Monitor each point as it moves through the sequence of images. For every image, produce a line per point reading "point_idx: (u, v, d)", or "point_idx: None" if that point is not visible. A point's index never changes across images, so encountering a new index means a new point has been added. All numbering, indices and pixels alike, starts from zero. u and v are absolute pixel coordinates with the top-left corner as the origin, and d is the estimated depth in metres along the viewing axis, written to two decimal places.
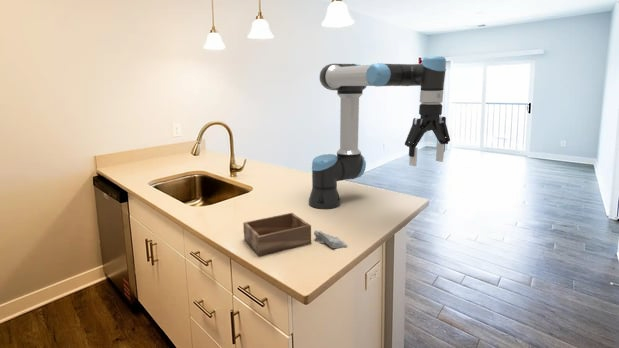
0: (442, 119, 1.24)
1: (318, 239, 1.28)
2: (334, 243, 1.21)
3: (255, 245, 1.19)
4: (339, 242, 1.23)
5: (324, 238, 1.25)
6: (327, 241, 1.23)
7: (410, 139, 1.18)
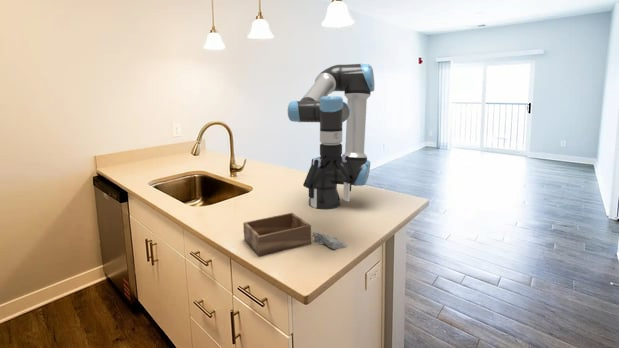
0: (345, 158, 1.20)
1: (317, 240, 1.27)
2: (334, 243, 1.21)
3: (255, 245, 1.19)
4: (339, 242, 1.22)
5: (323, 239, 1.24)
6: (327, 242, 1.22)
7: (307, 181, 1.15)
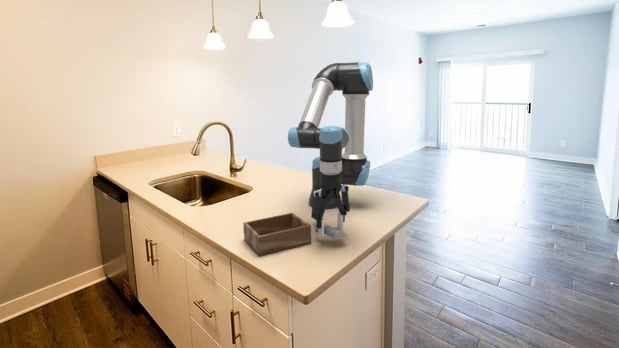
0: (345, 188, 1.23)
1: None
2: (335, 233, 1.21)
3: (255, 245, 1.19)
4: (340, 232, 1.22)
5: (325, 229, 1.24)
6: (328, 232, 1.22)
7: (314, 213, 1.19)
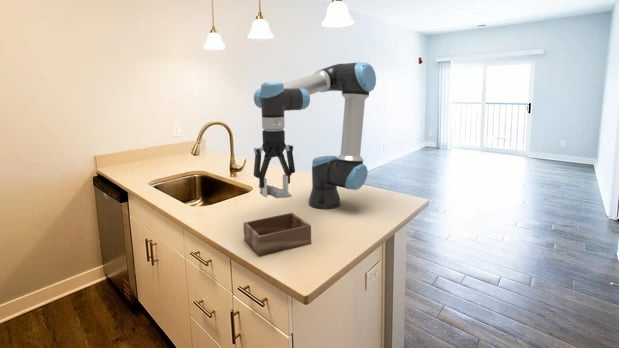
0: (289, 147, 1.21)
1: None
2: (278, 192, 1.18)
3: (255, 245, 1.19)
4: (284, 192, 1.20)
5: (268, 189, 1.21)
6: (271, 191, 1.20)
7: (255, 171, 1.17)
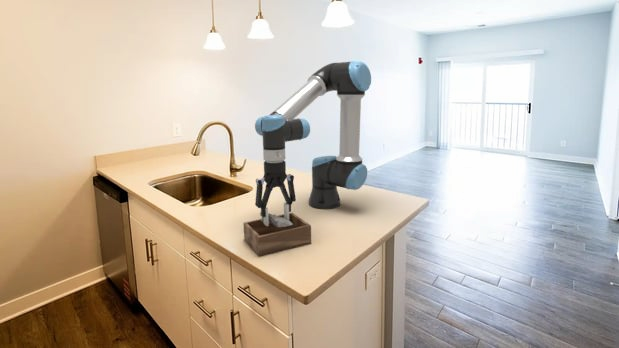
0: (290, 177, 1.24)
1: None
2: (279, 222, 1.21)
3: (255, 245, 1.19)
4: (285, 221, 1.22)
5: (270, 218, 1.24)
6: (273, 221, 1.22)
7: (257, 201, 1.20)
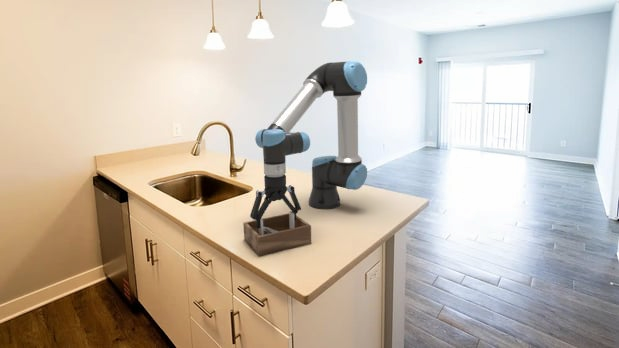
0: (290, 189, 1.25)
1: None
2: None
3: (255, 245, 1.19)
4: None
5: None
6: None
7: (253, 212, 1.20)
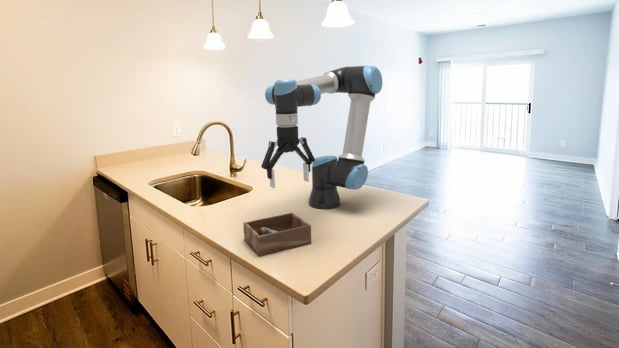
0: (303, 140, 1.25)
1: None
2: None
3: (255, 245, 1.19)
4: None
5: None
6: None
7: (265, 162, 1.19)
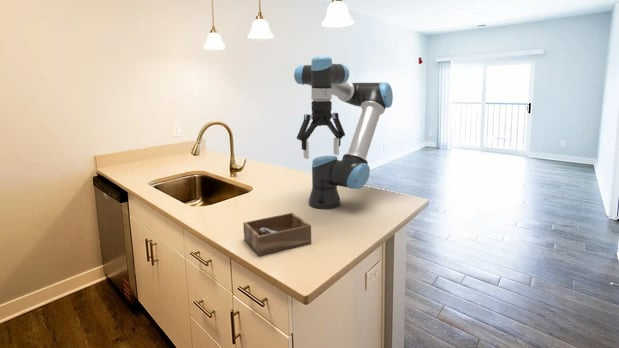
0: (335, 115, 1.33)
1: None
2: None
3: (255, 245, 1.19)
4: None
5: None
6: None
7: (300, 133, 1.28)
